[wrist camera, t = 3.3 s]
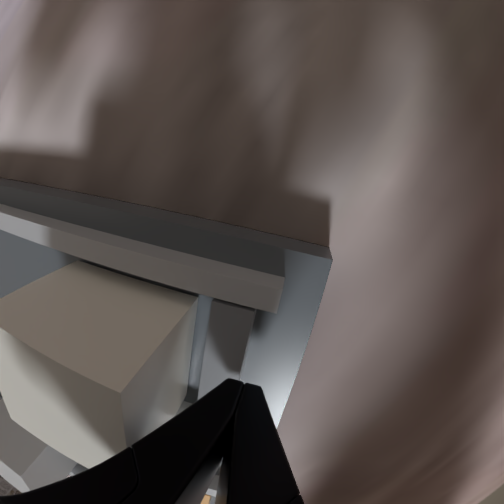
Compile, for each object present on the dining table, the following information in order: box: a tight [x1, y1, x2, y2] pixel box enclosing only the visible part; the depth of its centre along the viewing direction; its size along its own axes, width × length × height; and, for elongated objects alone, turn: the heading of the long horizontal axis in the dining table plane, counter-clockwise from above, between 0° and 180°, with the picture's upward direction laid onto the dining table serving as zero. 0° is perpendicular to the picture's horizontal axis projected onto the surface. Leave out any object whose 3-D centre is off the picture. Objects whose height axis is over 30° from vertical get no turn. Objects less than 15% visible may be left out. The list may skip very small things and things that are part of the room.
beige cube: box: [0, 260, 199, 469], centre depth 7 cm, size 4×4×4 cm
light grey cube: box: [0, 398, 77, 493], centre depth 10 cm, size 4×4×4 cm
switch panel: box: [0, 178, 333, 504], centre depth 11 cm, size 16×16×2 cm
